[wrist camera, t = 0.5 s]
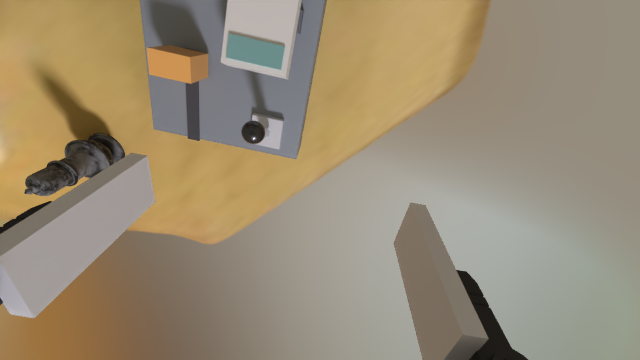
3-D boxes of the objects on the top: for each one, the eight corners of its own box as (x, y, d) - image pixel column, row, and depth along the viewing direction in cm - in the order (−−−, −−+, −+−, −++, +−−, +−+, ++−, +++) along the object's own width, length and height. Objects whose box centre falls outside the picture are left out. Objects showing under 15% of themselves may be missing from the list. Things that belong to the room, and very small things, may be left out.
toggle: (257, 121, 31) (240, 117, 24) (276, 125, 31) (264, 122, 24) (254, 139, 32) (236, 141, 25) (273, 143, 32) (260, 146, 25)
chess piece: (86, 124, 38) (-9, 160, 28) (129, 142, 39) (52, 183, 29) (85, 158, 41) (-2, 202, 30) (125, 173, 42) (53, 222, 31)
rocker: (242, -53, 24) (234, -68, 22) (308, -36, 24) (306, -50, 22) (228, 65, 26) (219, 62, 24) (288, 79, 27) (285, 76, 25)
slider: (170, 45, 28) (146, 47, 25) (208, 53, 28) (190, 57, 25) (171, 69, 29) (149, 74, 26) (208, 77, 30) (191, 83, 26)
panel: (155, -98, 26) (114, -126, 21) (336, -52, 27) (335, -70, 22) (171, 120, 37) (146, 134, 32) (299, 148, 38) (294, 165, 33)
